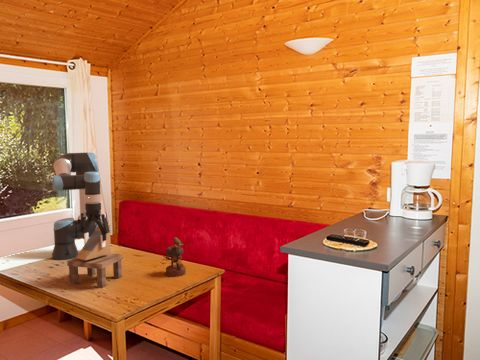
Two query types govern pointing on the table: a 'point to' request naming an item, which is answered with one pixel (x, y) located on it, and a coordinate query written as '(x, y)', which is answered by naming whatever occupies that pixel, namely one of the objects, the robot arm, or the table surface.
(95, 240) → the sandwich container
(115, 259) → the stool
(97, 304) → the table surface
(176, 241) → the small figurine
